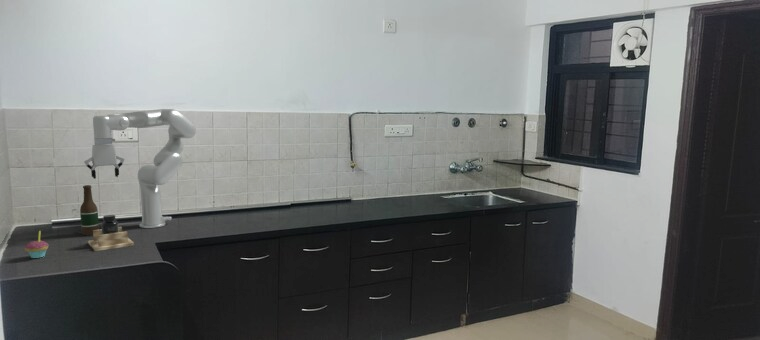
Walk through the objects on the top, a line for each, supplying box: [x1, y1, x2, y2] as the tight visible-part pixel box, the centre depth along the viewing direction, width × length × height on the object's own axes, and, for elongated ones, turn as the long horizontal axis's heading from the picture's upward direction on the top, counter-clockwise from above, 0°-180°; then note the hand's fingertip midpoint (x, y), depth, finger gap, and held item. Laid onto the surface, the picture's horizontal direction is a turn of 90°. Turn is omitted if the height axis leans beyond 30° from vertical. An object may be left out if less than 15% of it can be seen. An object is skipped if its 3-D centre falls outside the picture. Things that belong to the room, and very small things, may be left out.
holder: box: [88, 226, 135, 252], centre depth 251 cm, size 16×16×6 cm
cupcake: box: [24, 230, 50, 258], centre depth 230 cm, size 9×8×12 cm
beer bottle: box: [79, 184, 100, 237], centre depth 269 cm, size 8×8×24 cm
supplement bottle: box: [101, 214, 119, 235], centre depth 251 cm, size 7×7×12 cm
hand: (105, 177), depth 265 cm, fingers open, 9 cm apart
